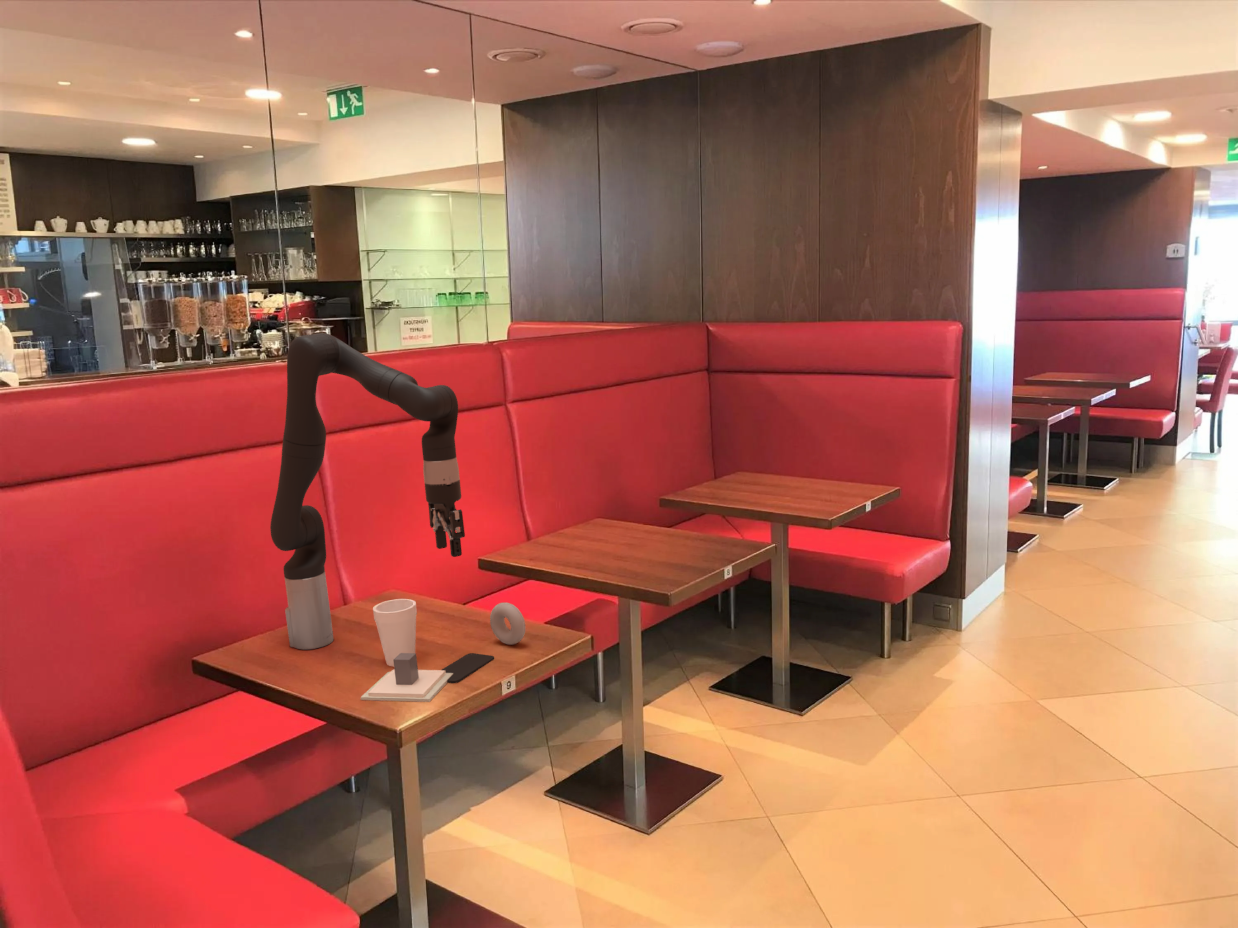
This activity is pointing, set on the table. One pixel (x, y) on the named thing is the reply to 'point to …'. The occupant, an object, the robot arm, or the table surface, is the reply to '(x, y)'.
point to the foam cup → (396, 627)
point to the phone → (466, 666)
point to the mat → (427, 698)
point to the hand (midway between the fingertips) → (449, 551)
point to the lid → (407, 679)
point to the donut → (514, 620)
